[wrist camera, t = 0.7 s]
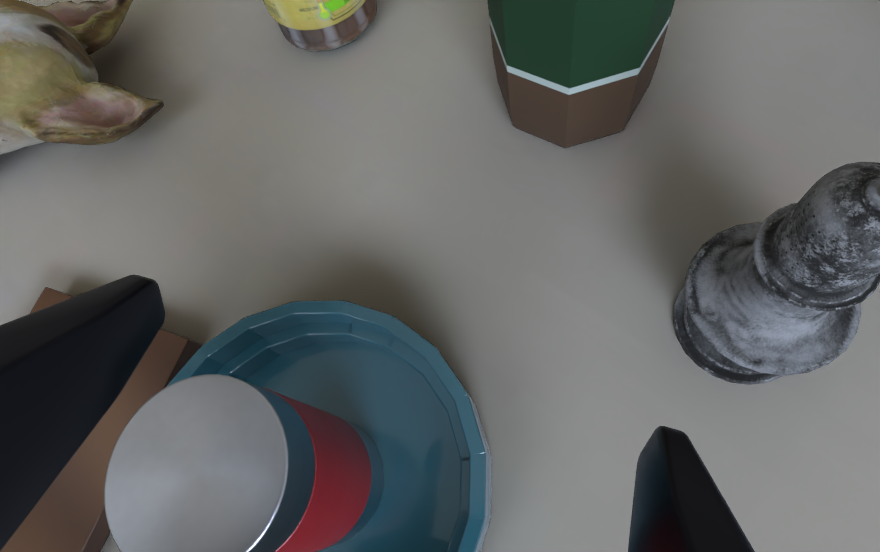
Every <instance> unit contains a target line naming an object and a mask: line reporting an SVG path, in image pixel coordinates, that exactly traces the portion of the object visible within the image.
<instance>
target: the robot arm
mask: <svg viewBox="0 0 880 552" xmlns="http://www.w3.org/2000/svg"><path fill="white" fill-rule="evenodd" d="M164 318H165V310H164V306H163V302H162V298H161V294H160V289H159V286H158V284H157V282H156V281H155V280H153V279H150V278H146V277H143V276H139V275H130V276H127V277H124V278H122V279H119V280H116V281H114V282H111V283H109V284H106V285H103V286H101V287H98V288H96V289H93V290H91V291H88V292H85V293H83V294H80V295H78V296H75V297H72V298H70V299H67V300H65V301H62V302H60V303H57V304H54V305H52V306H49V307H47V308H44V309H41V310H39V311H36V312H34V313H31V314H29V315H26V316H23V317H21V318H18V319H16V320H13V321H11V322H8V323H5V324H3V325H0V551H1V550H2V549H3V547H4V546H5V545H6V543H7V542H8V541H9V539H10V538H11V537H12V536H13V534H14V533H15V532H16V530H17V529H18V528H19V526H20V525H21V524H22V522H23V521H24V520H25V518H26V517H27V516H28V515H29V513H30V512H31V511H32V509H33V508H34V507H35V505H36V504H37V503H38V501H39V500H40V499H41V497H42V496H43V495H44V494H45V492H46V491H47V490H48V488H49V487H50V486H51V484H52V483H53V482H54V480H55V479H56V478H57V476H58V475H59V474H60V473H61V471H62V470H63V469H64V467H65V466H66V465H67V463H68V462H69V461H70V459H71V458H72V457H73V455H74V454H75V453H76V452H77V450H78V449H79V448H80V446H81V445H82V444H83V442H84V441H85V440H86V438H87V437H88V436H89V434H90V433H91V432H92V431H93V429H94V428H95V427H96V425H97V424H98V423H99V421H100V420H101V419H102V417H103V416H104V415H105V413H106V412H107V411H108V410H109V408H110V407H111V406H112V404H113V403H114V401H115V400H116V399H117V397H118V396H119V395H120V393H121V392H122V390H123V388H124V387H125V385H126V384H127V382H128V381H129V379H130V377H131V376H132V374H133V372H134V371H135V369H136V367H137V366H138V364H139V363H140V361H141V359H142V358H143V356H144V354H145V353H146V351H147V349H148V348H149V346H150V344H151V343H152V341H153V339H154V338H155V336H156V335H157V333H158V331H159V330H160V328H161V326H162V324H163V322H164ZM628 552H755V551H754V550H753V548H752V546H751V544H750V543H749V541H748V539H747V538H746V536H745V534H744V532H743V531H742V529H741V527H740V526H739V524H738V522H737V520H736V519H735V517H734V515H733V513H732V512H731V510H730V508H729V507H728V505H727V503H726V501H725V500H724V498H723V496H722V495H721V493H720V491H719V489H718V488H717V486H716V484H715V482H714V481H713V479H712V477H711V476H710V474H709V472H708V470H707V469H706V467H705V465H704V464H703V462H702V460H701V458H700V457H699V455H698V453H697V451H696V450H695V448H694V446H693V445H692V443H691V441H690V439H689V438H688V436H687V435H686V434H685V433H684V432H682V431H679V430H676V429H672V428H669V427H665V426H659V427H658V428H656V430H655V431H654V433H653V434H652V436H651V437H650V439H649V441H648V442H647V444H646V445H645V447H644V448H643V450H642V452H641V453H640V456H639V459H638V463H637V470H636V479H635V489H634V498H633V508H632V517H631V527H630V536H629V547H628Z"/></svg>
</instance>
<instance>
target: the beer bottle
mask: <svg viewBox="0 0 880 552" xmlns="http://www.w3.org/2000/svg"><path fill="white" fill-rule="evenodd" d="M674 1H675V0H488V9H489V19H490V29H491V38H492V48H493V58H494V63H495V69H496V74H497V79H498V83H499V86H500V89H501V92H502V95H503V98H504V101H505V104H506V107H507V109H508V112H509V115H510V118H511V121H512V124H513V126H514V127H516V128H517V129H520V130H522V131H525V132H527V133H530V134H532V135H534V136H537V137H539V138H542V139H544V140H547V141H549V142H551V143H554V144H556V145H559V146H561V147H564V148H567V147H571V146H574V145H577V144H581V143H584V142H588V141H591V140H595V139H598V138H601V137H605V136H608V135H612V134H615V133H619V132H621V131H622V130H623V129H624V128H625V126H626V124H627V122H628V121H629V119H630V117H631V116H632V114H633V112H634V110H635V109H636V107H637V105H638V104H639V102H640V100H641V98H642V97H643V95H644V93H645V92H646V90H647V88H648V86H649V84H650V82H651V79H652V76H653V73H654V71H655V68H656V65H657V62H658V59H659V55H660V52H661V48H662V45H663V41H664V37H665V34H666V30H667V26H668V23H669V19H670V15H671V12H672V8H673V5H674Z"/></svg>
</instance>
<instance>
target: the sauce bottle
mask: <svg viewBox="0 0 880 552" xmlns="http://www.w3.org/2000/svg"><path fill="white" fill-rule="evenodd" d="M263 1H264V3H265V5H266V7H267V9H268V11H269V13H270V14H271V16H272V17H273V18H274V19H275V20H276V21H277V22H278V24H279V26H280V28H281V30H282V32H283V35H284V36H285V37H286V39H287V40H288V41H289V42H291V43H292V44H293V45H295V46H296V47H300V48H302V49H305V50H308V51H313V52H316V51H330V50H333V49H336V48H340V47H341V46H343V45H345V44H348V43H350V42H352V41H354V40H355V39H356V38H358V36H359V35H360V34H361V33H362V32H363V31H364V30H365V29H366V28H367V27H368V25H369V24H370V23H371V22H372V21H373V19H374V17H375V15H376V10H377V0H263Z"/></svg>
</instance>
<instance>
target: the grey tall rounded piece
mask: <svg viewBox="0 0 880 552" xmlns="http://www.w3.org/2000/svg"><path fill="white" fill-rule="evenodd" d="M879 283H880V163H874V162H857V163H852V164H846V165H844V166H841V167H839V168H837V169H834V170H832V171H831V172H829V173H827V174H826V175H824V176H823V177H822V178H821V179H819V180H818V181H817V182H816V183H815V184H814V185H813V186H812V187H811V188H810V190H809V191H808V192H807V193H806V194H805V195H804V196H803V197H802V199H801V200H800V201H799V202H798V203H794V204H790V205H788V206H785V207H783V208H781V209H778V210H777V211H775V212H774V213H773V214H772V215H770V216H769V217H768V218H766V220H765V221H764V222H763V223H759V222H756V223H750V224H743V225H737V226H734V227H732V228H729V229H727V230H725V231H722V232H720V233H718V234H716V235H715V236H714V237H712V238H711V239H710V240H708V241H707V242H706V243H705V244H703V245H702V247H701V248H700V249H699V251H698V252H697V254H696V255H695V256H694V258H693V259H692V261H691V263H690V266H689V269H688V272H687V275H686V278H685V285H684V287H683V288H682V289H681V291H680V292H679V294H678V297H677V300H676V303H675V306H674V320H673V323H674V327H675V331H676V334H677V338H678V340H679V342H680V344H681V345H682V347H683V349H684V351H685V352H686V354H687V355H688V356H689V357H690V358H691V359H692V360H693V361H694V362H695V363H696V364H697V365H698V366H699V367H701V368H702V369H704V370H705V371H707V372H708V373H710V374H711V375H713V376H715V377H718V378H721V379H724V380H726V381H729V382H733V383H741V384H757V383H765V382H769V381H771V380H774V379H776V378H779V377H781V376H783V375H792V374H800V373H807V372H810V371H812V370H815V369H817V368H820V367H822V366H825V365H827V364H829V363H830V362H832V361H833V360H834V359H835V358H837V357H838V356H839V355H840V354H841V353H843V352H844V351H845V350H846V349H847V347H848V346H849V344H850V342H851V341H852V339H853V338H854V336H855V334H856V333H857V328H858V324H859V320H860V316H861V307H860V303H861V302H862V301H863V300H865V299H866V298H867V297H868V296H870V295H871V294H872V293H873V292H874V291H875V289H876V288H877V286H878V285H879Z"/></svg>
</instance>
